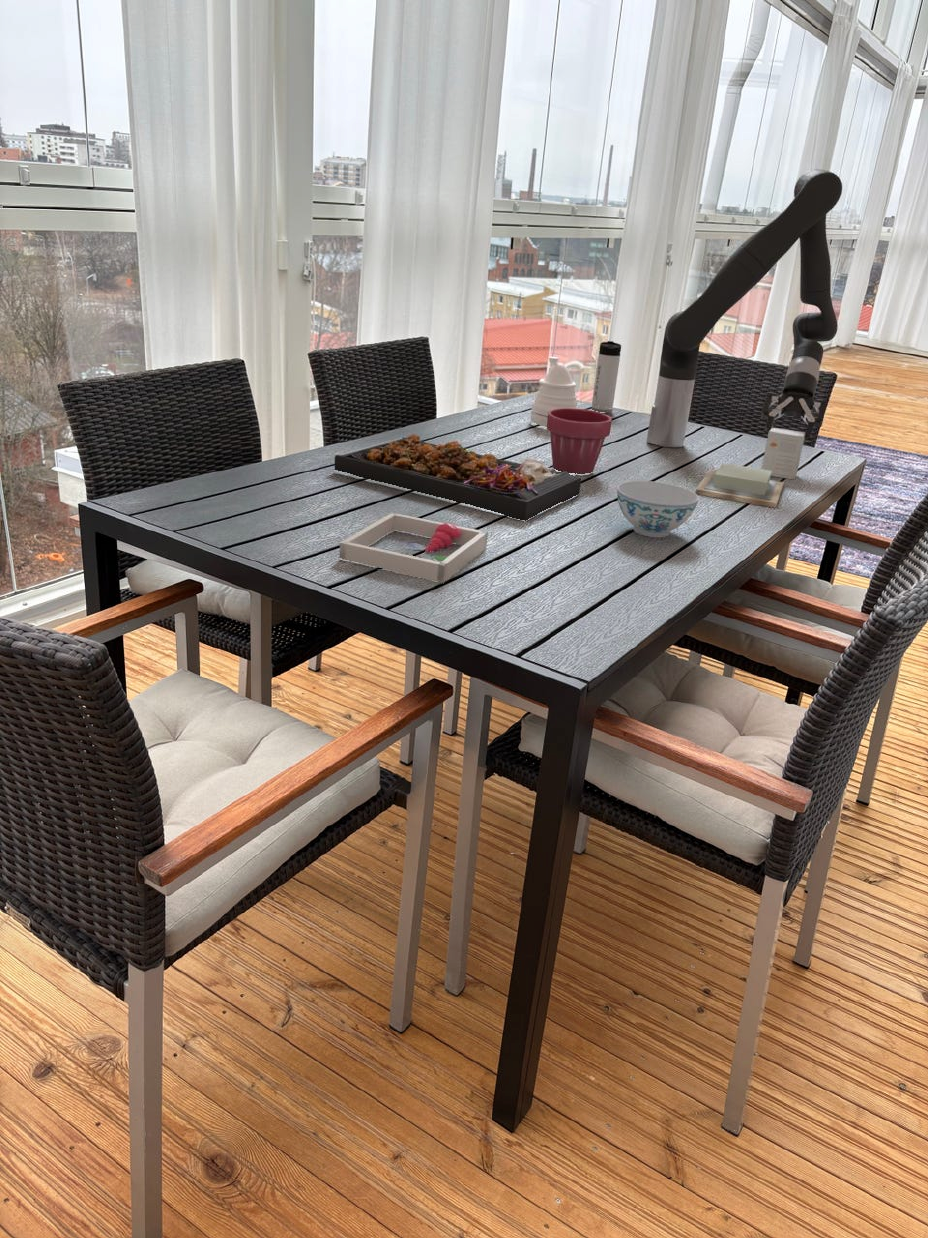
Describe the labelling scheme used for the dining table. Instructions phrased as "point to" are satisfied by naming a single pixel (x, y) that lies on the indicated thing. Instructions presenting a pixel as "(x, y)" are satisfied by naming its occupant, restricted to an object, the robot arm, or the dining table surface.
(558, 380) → the honey pot
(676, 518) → the chinaware
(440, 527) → the toy pieces
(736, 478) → the plinth
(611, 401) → the travel mug
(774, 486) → the board
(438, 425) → the dining table surface
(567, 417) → the plant pot
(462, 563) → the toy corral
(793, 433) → the small box
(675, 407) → the robot arm
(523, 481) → the food platter
